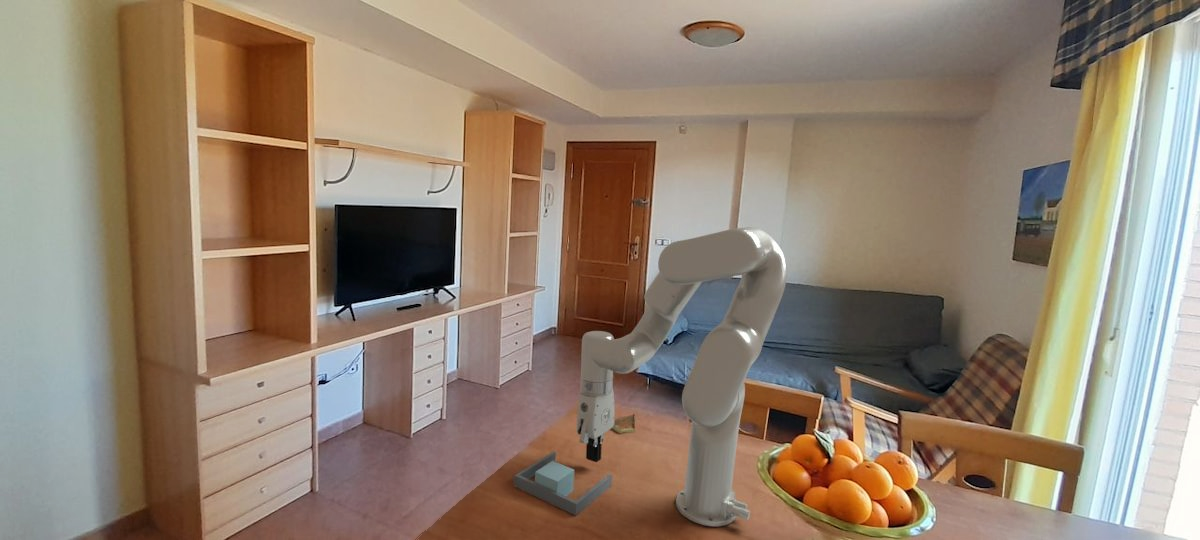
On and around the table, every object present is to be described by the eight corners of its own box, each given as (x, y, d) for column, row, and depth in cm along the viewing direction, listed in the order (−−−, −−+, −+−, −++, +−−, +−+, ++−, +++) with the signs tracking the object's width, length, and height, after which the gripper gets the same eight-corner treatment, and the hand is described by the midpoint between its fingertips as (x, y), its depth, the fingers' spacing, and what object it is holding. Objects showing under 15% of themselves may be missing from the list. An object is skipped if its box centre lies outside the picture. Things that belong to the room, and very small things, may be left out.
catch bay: (611, 485, 113) (612, 475, 112) (575, 515, 101) (576, 504, 101) (552, 460, 122) (553, 451, 121) (513, 486, 110) (514, 475, 110)
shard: (633, 418, 150) (634, 412, 150) (651, 428, 144) (652, 422, 144) (605, 426, 143) (606, 420, 143) (623, 437, 137) (623, 431, 137)
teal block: (573, 491, 110) (574, 469, 109) (556, 504, 105) (557, 481, 104) (551, 481, 113) (552, 460, 112) (534, 493, 108) (535, 471, 107)
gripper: (592, 398, 109) (589, 477, 111) (626, 379, 121) (622, 451, 124) (564, 390, 113) (561, 467, 115) (600, 373, 125) (597, 443, 128)
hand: (593, 459), depth 119 cm, fingers closed
